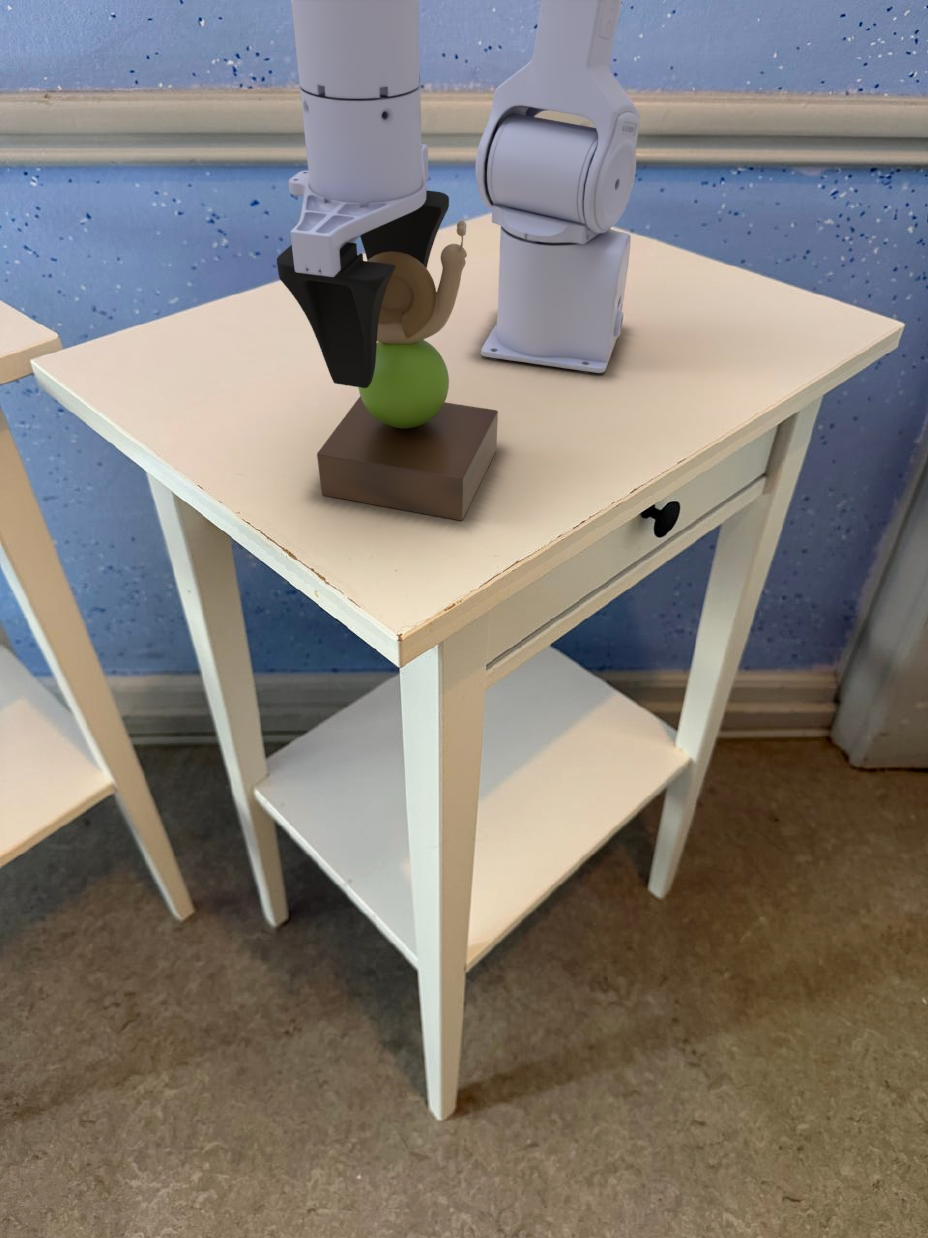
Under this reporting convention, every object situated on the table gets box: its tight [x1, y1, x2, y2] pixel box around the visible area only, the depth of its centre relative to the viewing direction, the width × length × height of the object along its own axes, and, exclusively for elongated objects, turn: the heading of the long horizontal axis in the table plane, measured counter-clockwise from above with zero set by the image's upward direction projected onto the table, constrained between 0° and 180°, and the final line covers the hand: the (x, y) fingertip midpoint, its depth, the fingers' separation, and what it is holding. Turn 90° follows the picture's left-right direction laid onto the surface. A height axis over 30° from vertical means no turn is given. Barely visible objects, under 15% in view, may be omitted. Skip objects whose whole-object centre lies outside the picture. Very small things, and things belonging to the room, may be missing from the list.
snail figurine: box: [357, 220, 468, 428], centre depth 52 cm, size 5×6×12 cm
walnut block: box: [316, 395, 499, 521], centre depth 56 cm, size 9×8×3 cm
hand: (376, 351), depth 52 cm, fingers open, 7 cm apart
